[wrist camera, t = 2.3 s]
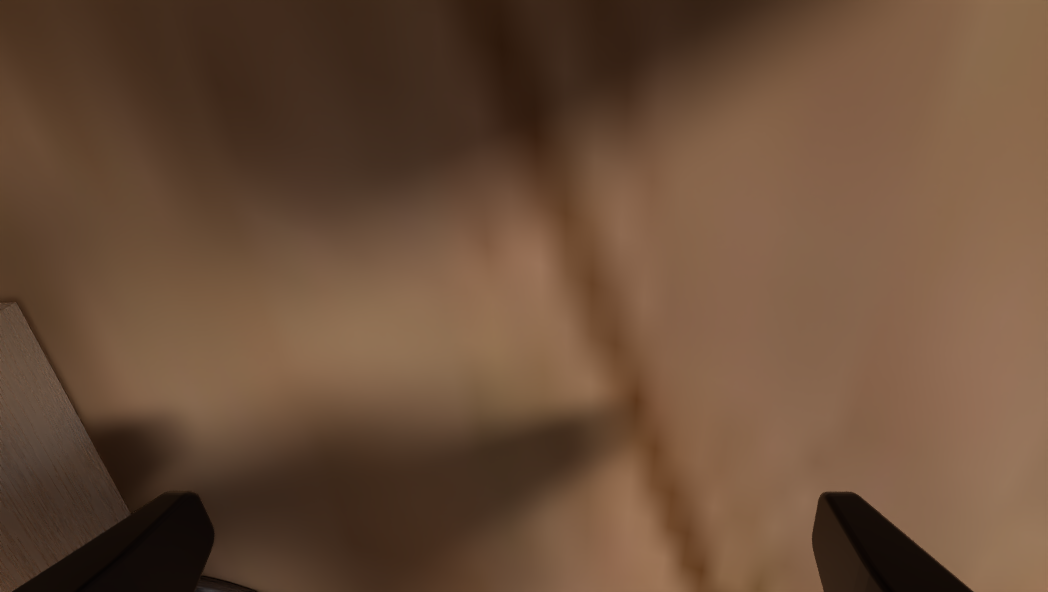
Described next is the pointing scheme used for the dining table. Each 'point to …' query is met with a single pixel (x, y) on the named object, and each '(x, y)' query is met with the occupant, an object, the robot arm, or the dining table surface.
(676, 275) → the dining table surface
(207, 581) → the foot base
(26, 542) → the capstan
